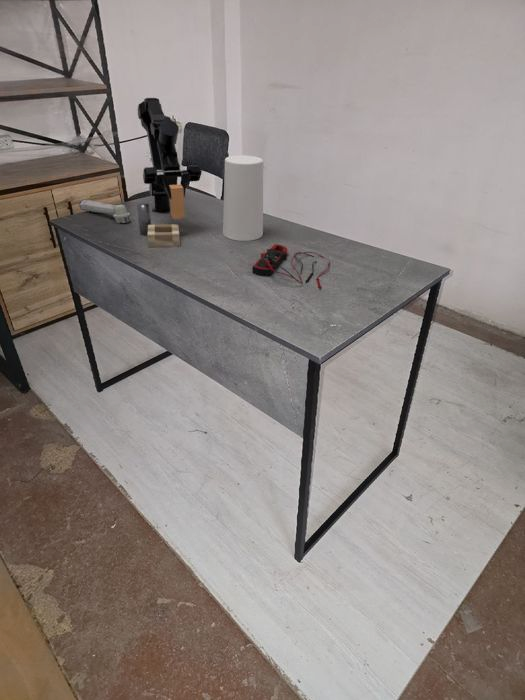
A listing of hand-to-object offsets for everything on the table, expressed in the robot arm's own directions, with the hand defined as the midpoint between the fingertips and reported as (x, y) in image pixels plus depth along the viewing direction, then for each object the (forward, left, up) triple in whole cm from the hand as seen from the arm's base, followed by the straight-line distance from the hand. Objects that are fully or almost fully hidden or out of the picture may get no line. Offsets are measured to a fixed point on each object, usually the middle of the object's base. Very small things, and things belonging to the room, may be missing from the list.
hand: (177, 198), depth 152 cm
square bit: (-1, -1, -7) cm, 7 cm away
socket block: (+6, -3, -13) cm, 15 cm away
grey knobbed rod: (-8, -35, -13) cm, 38 cm away
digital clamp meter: (+11, +43, -14) cm, 47 cm away
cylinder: (-11, +19, -13) cm, 26 cm away
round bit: (+2, -12, -13) cm, 18 cm away
